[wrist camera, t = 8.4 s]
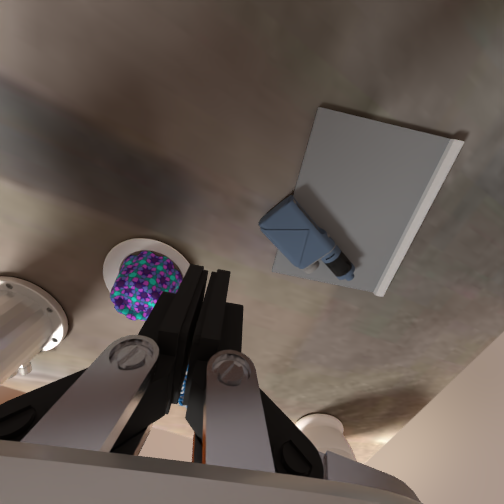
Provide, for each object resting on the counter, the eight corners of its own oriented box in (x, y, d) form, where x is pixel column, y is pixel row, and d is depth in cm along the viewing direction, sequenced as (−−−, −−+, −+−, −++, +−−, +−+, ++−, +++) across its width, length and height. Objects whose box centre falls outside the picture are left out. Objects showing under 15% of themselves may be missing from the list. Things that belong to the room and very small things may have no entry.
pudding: (100, 298, 35) (76, 324, 31) (112, 221, 31) (85, 238, 26) (185, 325, 37) (173, 354, 32) (209, 255, 32) (200, 277, 27)
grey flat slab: (379, 291, 33) (382, 296, 32) (272, 269, 32) (272, 274, 31) (456, 141, 25) (464, 141, 24) (317, 107, 24) (320, 106, 23)
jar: (280, 437, 47) (287, 562, 34) (299, 402, 43) (316, 529, 29) (334, 448, 48) (363, 574, 34) (358, 415, 44) (402, 544, 30)
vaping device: (294, 190, 27) (357, 265, 31) (257, 220, 29) (320, 288, 33) (295, 197, 25) (363, 277, 28) (255, 229, 27) (323, 301, 30)
